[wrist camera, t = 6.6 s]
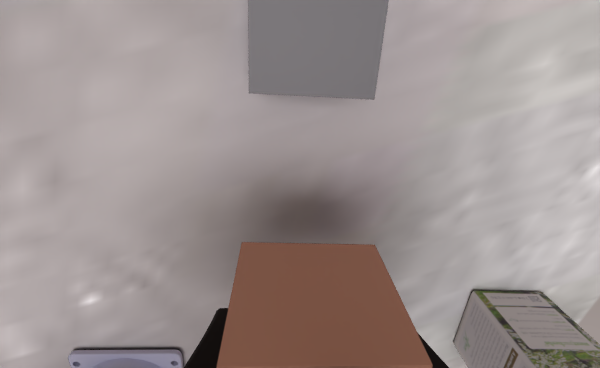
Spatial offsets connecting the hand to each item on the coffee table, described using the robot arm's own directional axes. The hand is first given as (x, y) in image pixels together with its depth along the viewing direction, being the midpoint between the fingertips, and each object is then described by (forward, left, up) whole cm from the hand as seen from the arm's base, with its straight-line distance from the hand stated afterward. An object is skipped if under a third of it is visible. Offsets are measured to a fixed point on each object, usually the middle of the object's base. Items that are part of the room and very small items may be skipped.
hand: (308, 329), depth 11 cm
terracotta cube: (0, 0, -2) cm, 2 cm away
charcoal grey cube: (+10, 0, -10) cm, 14 cm away
